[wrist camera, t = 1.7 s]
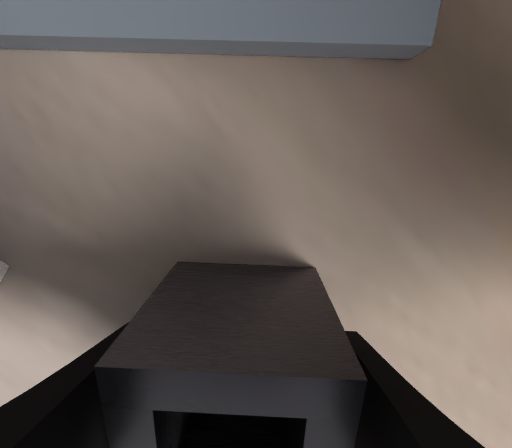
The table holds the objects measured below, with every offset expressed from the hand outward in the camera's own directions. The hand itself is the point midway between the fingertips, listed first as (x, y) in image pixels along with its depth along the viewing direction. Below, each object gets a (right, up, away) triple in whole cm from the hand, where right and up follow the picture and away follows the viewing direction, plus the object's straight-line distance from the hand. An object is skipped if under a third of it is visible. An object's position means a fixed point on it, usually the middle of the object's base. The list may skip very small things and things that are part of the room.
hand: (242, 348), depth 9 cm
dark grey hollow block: (0, 0, +1) cm, 1 cm away
